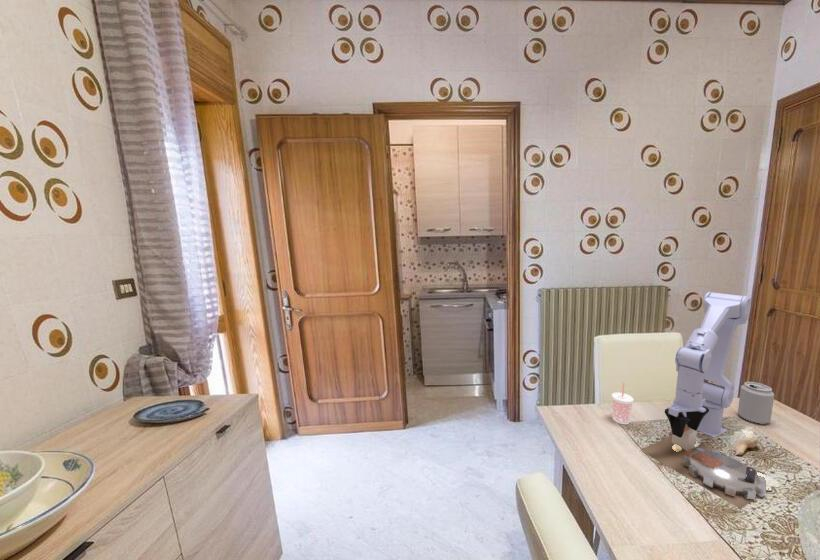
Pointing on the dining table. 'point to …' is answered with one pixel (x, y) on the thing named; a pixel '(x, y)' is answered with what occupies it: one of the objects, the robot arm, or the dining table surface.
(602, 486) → the dining table surface
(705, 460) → the sprocket
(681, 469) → the board
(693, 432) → the link block
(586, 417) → the dining table surface
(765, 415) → the can
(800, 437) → the dining table surface
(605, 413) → the dining table surface
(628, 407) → the beverage cup
